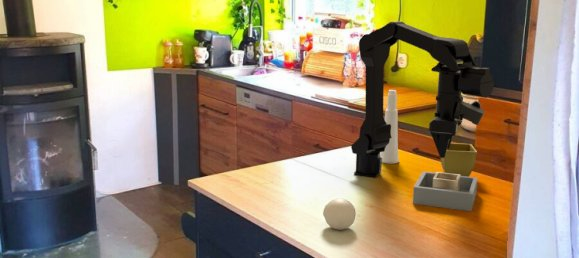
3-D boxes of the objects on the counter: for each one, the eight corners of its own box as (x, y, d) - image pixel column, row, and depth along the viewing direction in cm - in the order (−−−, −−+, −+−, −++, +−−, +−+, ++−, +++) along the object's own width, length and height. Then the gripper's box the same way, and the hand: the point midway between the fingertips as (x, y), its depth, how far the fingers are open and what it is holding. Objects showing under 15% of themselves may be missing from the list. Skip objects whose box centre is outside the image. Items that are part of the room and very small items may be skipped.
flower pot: (468, 173, 175) (471, 143, 173) (474, 183, 166) (477, 151, 164) (437, 172, 176) (439, 142, 174) (442, 181, 167) (444, 150, 165)
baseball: (334, 219, 139) (334, 191, 138) (360, 227, 135) (361, 199, 133) (316, 228, 134) (316, 199, 133) (343, 236, 130) (344, 207, 128)
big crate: (412, 203, 150) (413, 186, 149) (422, 186, 163) (423, 171, 162) (471, 211, 145) (472, 194, 144) (476, 193, 158) (477, 177, 157)
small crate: (431, 197, 152) (433, 178, 151) (435, 190, 157) (436, 171, 156) (456, 200, 150) (457, 181, 149) (459, 193, 155) (460, 174, 154)
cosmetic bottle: (378, 157, 190) (382, 88, 185) (398, 158, 189) (402, 89, 184) (379, 163, 184) (382, 91, 179) (399, 164, 183) (403, 92, 178)
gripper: (480, 100, 137) (474, 166, 141) (486, 88, 154) (480, 147, 158) (431, 96, 141) (426, 161, 145) (441, 85, 158) (437, 142, 162)
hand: (444, 152), depth 152 cm, fingers open, 9 cm apart
